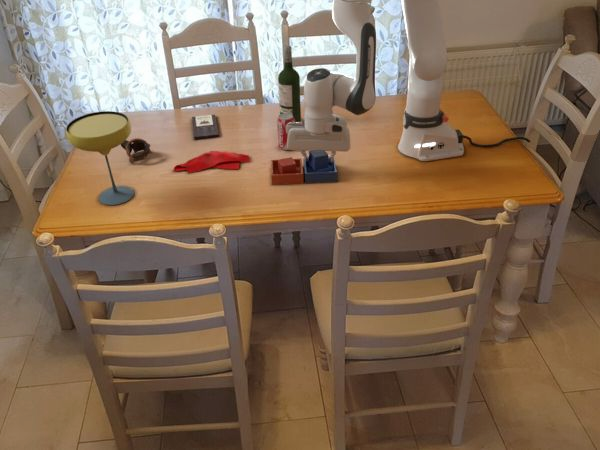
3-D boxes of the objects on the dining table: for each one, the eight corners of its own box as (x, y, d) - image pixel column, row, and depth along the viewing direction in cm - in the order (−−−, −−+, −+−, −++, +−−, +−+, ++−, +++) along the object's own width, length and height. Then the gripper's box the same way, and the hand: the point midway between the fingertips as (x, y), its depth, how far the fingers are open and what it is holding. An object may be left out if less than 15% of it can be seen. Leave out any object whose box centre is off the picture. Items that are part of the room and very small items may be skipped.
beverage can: (293, 151, 198) (292, 120, 191) (276, 150, 199) (274, 119, 192) (297, 143, 203) (296, 112, 196) (280, 142, 204) (278, 111, 197)
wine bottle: (276, 125, 215) (272, 47, 198) (287, 117, 221) (284, 41, 203) (294, 129, 212) (290, 51, 194) (304, 121, 217) (302, 44, 200)
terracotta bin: (301, 167, 189) (301, 158, 187) (303, 183, 181) (303, 173, 179) (271, 168, 189) (271, 159, 187) (271, 184, 180) (271, 175, 178)
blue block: (322, 160, 186) (322, 148, 183) (328, 167, 182) (328, 154, 179) (309, 163, 185) (309, 150, 182) (314, 170, 181) (314, 157, 178)
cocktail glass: (145, 207, 172) (128, 133, 157) (84, 216, 169) (61, 141, 155) (145, 178, 186) (130, 107, 172) (89, 185, 184) (68, 114, 169)
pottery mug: (158, 152, 201) (154, 140, 194) (146, 174, 198) (141, 162, 190) (128, 141, 203) (123, 128, 195) (115, 162, 199) (109, 150, 191)
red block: (292, 169, 187) (291, 157, 184) (296, 176, 183) (296, 163, 180) (278, 172, 186) (277, 159, 183) (282, 179, 182) (281, 166, 179)
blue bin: (333, 165, 189) (333, 156, 187) (336, 181, 181) (337, 172, 179) (303, 167, 189) (303, 158, 187) (305, 183, 181) (305, 173, 179)
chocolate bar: (194, 137, 207) (191, 117, 222) (194, 139, 208) (192, 119, 222) (218, 134, 208) (214, 114, 223) (218, 136, 209) (215, 116, 223)
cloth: (250, 150, 200) (249, 144, 199) (250, 169, 189) (249, 163, 187) (177, 154, 199) (176, 148, 198) (172, 174, 188) (171, 168, 187)
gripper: (284, 126, 173) (285, 165, 181) (350, 127, 171) (349, 167, 179) (286, 117, 178) (288, 155, 186) (351, 118, 176) (350, 157, 184)
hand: (318, 161), depth 182 cm, fingers closed on blue block, 6 cm apart
